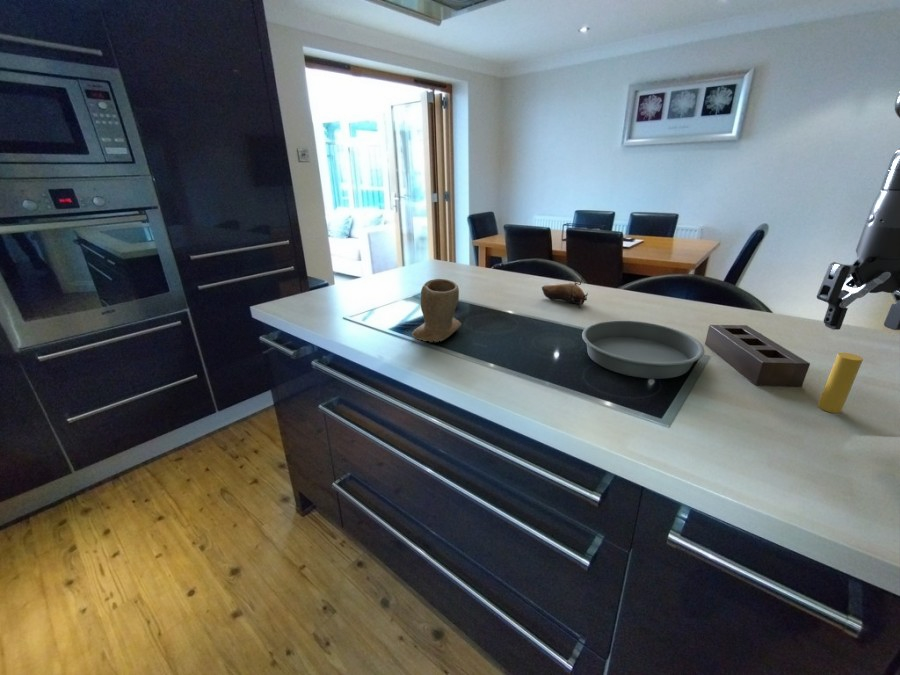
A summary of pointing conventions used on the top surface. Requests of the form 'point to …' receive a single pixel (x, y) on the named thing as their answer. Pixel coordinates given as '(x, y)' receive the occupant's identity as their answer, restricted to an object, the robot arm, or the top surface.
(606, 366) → the cake pan
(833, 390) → the peg
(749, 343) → the stand
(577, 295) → the vegetable
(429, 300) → the stone cup
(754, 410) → the top surface
